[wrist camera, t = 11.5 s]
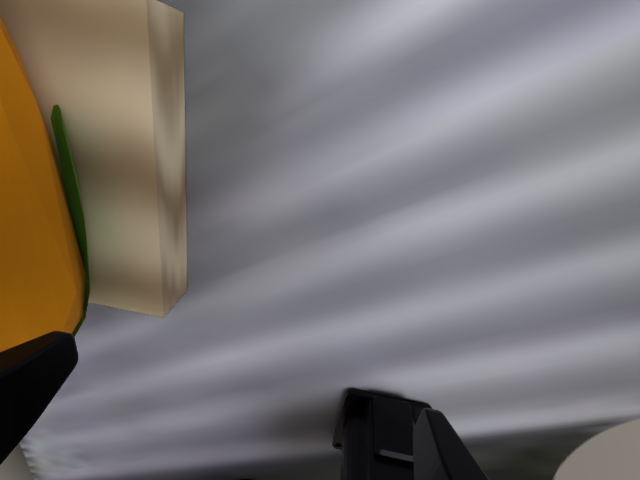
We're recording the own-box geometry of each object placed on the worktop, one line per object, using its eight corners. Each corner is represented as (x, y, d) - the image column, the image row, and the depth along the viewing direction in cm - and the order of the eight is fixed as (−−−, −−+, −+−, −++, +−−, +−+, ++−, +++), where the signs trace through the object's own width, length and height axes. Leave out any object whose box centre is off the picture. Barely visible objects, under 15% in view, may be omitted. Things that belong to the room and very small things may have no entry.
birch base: (187, 290, 22) (163, 317, 20) (20, 256, 23) (-26, 278, 20) (183, 12, 15) (146, -5, 13) (-56, -30, 16) (-142, -55, 13)
